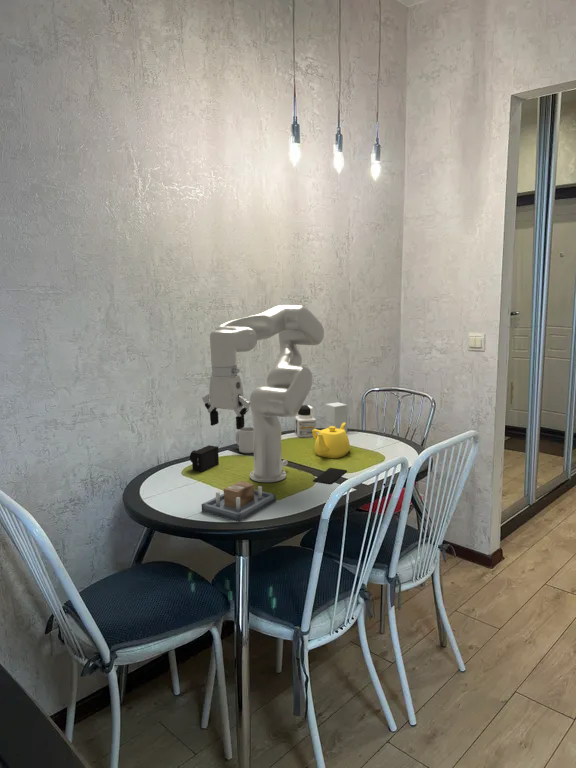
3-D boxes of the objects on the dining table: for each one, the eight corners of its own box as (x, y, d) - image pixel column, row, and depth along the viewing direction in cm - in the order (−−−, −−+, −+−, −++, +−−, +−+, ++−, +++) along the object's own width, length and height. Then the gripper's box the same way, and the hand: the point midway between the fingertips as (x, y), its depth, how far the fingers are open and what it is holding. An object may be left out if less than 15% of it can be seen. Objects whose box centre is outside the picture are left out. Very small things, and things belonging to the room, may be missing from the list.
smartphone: (312, 480, 189) (329, 467, 202) (312, 482, 189) (329, 469, 202) (331, 483, 186) (347, 470, 199) (331, 485, 186) (347, 472, 199)
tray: (239, 492, 179) (239, 476, 178) (275, 501, 172) (275, 485, 171) (201, 511, 164) (201, 494, 163) (239, 522, 157) (238, 504, 156)
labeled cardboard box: (241, 496, 172) (241, 480, 172) (254, 499, 170) (254, 483, 169) (224, 504, 166) (223, 488, 165) (237, 508, 163) (236, 491, 162)
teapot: (325, 443, 234) (325, 418, 232) (359, 449, 226) (359, 422, 224) (297, 456, 216) (297, 429, 214) (332, 463, 208) (332, 435, 206)
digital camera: (207, 462, 210) (206, 444, 209) (218, 464, 208) (218, 446, 206) (189, 470, 201) (188, 451, 200) (201, 472, 199) (201, 453, 197)
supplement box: (347, 432, 251) (348, 404, 249) (334, 434, 248) (334, 406, 246) (338, 428, 258) (338, 401, 256) (325, 430, 254) (325, 403, 252)
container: (298, 437, 243) (298, 408, 241) (295, 433, 251) (294, 404, 249) (316, 436, 245) (316, 407, 243) (311, 432, 252) (311, 403, 250)
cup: (248, 454, 219) (248, 432, 218) (230, 450, 225) (229, 428, 224) (260, 450, 225) (260, 428, 223) (242, 446, 231) (242, 425, 229)
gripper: (255, 371, 166) (257, 426, 170) (209, 367, 175) (212, 420, 178) (240, 375, 160) (243, 433, 163) (193, 371, 168) (197, 426, 172)
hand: (227, 426), depth 171 cm, fingers open, 9 cm apart
